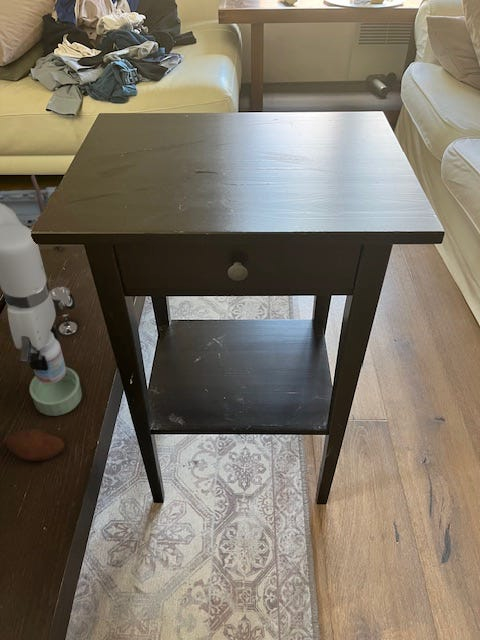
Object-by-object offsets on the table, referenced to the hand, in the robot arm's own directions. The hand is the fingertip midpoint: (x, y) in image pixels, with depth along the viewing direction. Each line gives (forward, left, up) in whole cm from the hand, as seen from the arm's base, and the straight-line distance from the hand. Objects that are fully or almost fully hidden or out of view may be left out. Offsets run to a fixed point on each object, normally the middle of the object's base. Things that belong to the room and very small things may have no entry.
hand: (45, 355), depth 100 cm
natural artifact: (-17, +59, -3) cm, 61 cm away
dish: (0, 0, -15) cm, 15 cm away
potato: (0, -14, -15) cm, 20 cm away
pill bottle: (0, 0, -6) cm, 6 cm away
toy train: (-27, +59, -8) cm, 66 cm away
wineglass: (-4, +21, -15) cm, 26 cm away
